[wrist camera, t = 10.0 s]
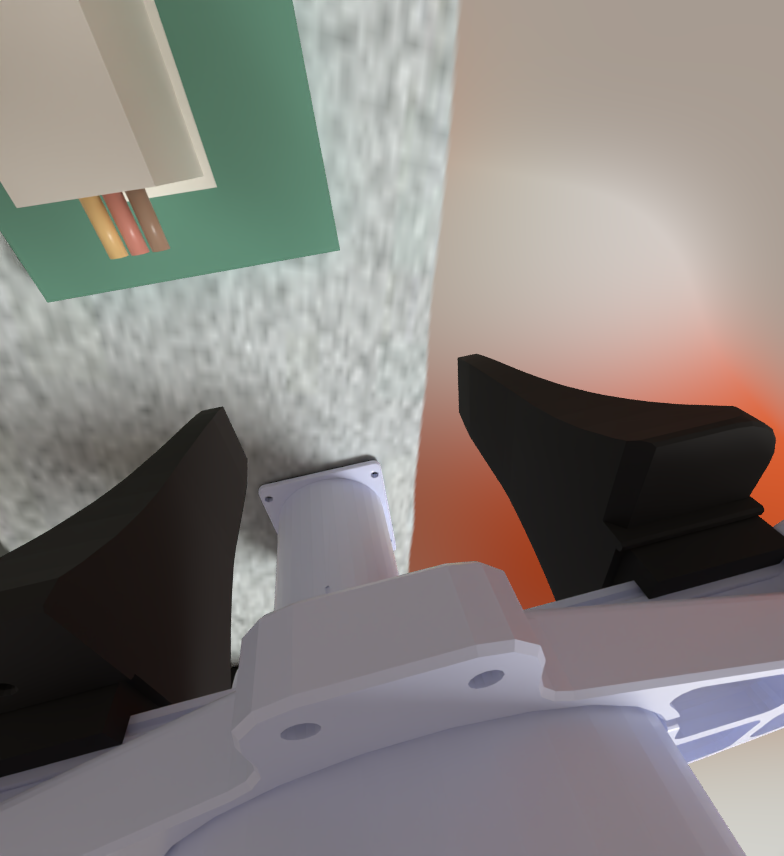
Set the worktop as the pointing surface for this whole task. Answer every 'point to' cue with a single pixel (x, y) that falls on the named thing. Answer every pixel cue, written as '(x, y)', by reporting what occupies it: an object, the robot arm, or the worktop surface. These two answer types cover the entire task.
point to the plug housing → (90, 115)
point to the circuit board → (206, 162)
